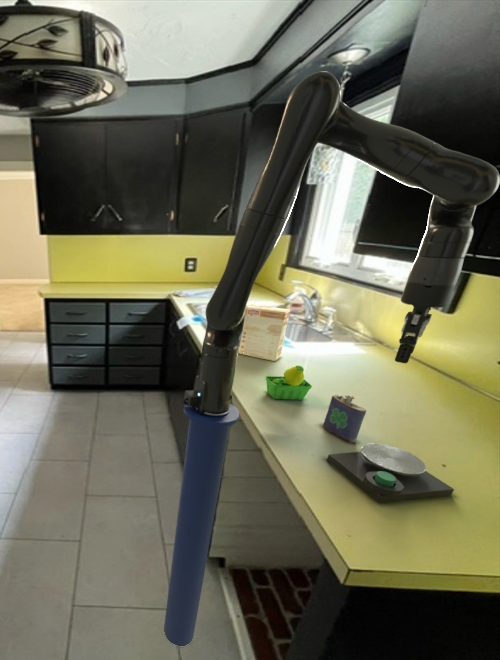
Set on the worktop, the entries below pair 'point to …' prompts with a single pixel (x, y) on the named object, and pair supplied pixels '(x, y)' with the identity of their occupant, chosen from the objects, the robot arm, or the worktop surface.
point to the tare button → (385, 478)
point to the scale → (401, 490)
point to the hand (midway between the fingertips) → (403, 357)
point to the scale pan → (393, 459)
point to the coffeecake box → (264, 332)
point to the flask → (344, 418)
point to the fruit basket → (288, 384)
